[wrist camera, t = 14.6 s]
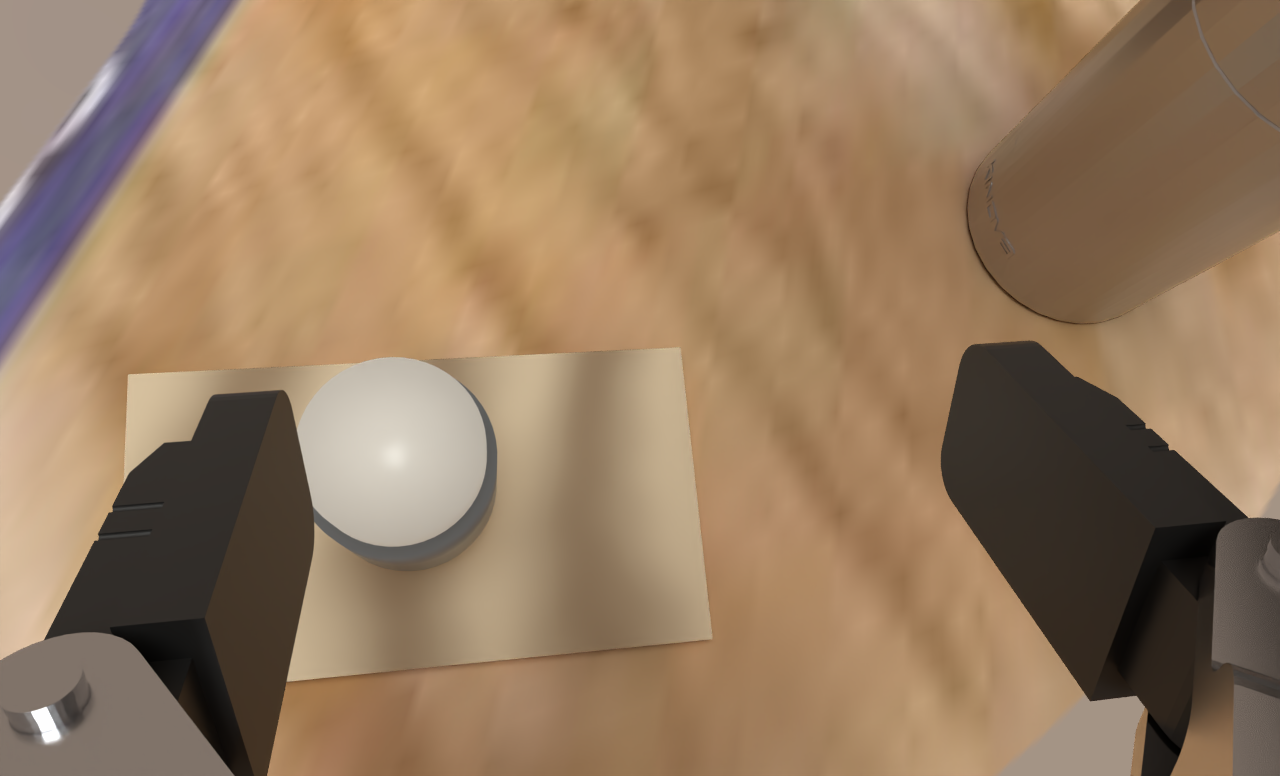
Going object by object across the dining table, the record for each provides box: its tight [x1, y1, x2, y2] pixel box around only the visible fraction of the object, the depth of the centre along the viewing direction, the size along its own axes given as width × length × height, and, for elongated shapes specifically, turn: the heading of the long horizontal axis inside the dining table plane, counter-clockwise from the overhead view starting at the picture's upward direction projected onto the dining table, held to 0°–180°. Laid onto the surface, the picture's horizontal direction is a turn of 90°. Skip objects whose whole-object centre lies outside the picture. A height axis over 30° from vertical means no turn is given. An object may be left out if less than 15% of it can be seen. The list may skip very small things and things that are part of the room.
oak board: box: [124, 347, 713, 682], centre depth 34 cm, size 20×11×1 cm, turn 95°
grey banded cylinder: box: [297, 357, 497, 571], centre depth 30 cm, size 6×6×9 cm
